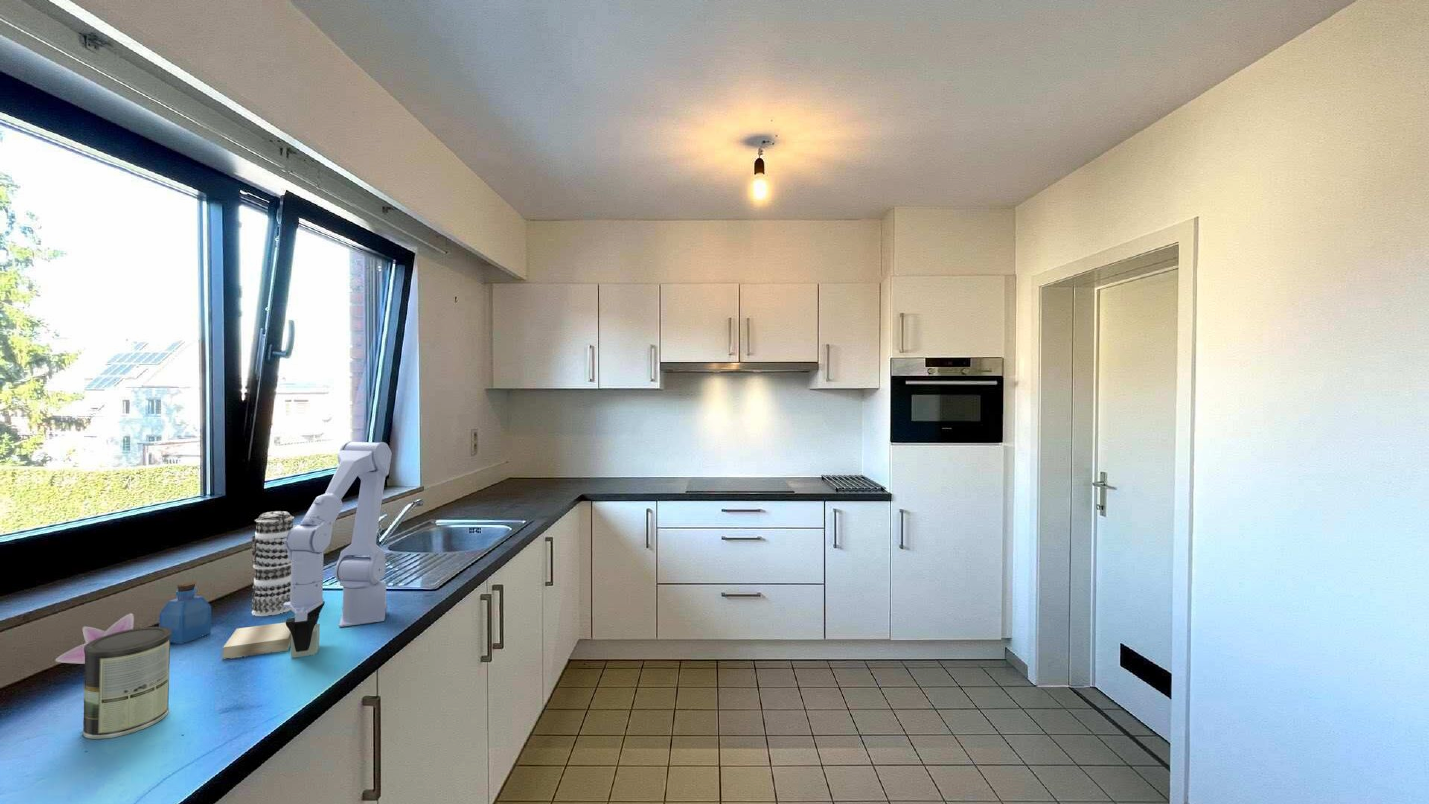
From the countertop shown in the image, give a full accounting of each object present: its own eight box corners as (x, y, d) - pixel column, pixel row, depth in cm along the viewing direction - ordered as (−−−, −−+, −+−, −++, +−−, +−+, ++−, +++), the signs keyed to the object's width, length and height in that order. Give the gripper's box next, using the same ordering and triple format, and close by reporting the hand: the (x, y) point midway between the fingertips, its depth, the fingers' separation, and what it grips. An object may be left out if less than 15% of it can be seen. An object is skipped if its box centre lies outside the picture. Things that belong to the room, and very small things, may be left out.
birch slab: (296, 633, 135) (296, 621, 135) (287, 652, 126) (287, 638, 126) (236, 641, 130) (236, 628, 130) (222, 661, 120) (222, 647, 120)
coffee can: (61, 740, 91) (64, 651, 91) (122, 706, 102) (124, 626, 102) (132, 739, 92) (134, 651, 92) (185, 705, 103) (187, 626, 103)
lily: (41, 692, 108) (51, 653, 106) (83, 644, 118) (92, 607, 116) (124, 699, 113) (134, 662, 111) (157, 652, 123) (167, 618, 121)
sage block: (319, 646, 128) (319, 623, 128) (316, 654, 124) (316, 631, 124) (294, 649, 126) (294, 626, 126) (290, 658, 122) (291, 634, 122)
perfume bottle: (180, 644, 127) (182, 589, 127) (158, 641, 129) (160, 587, 129) (210, 633, 133) (211, 581, 133) (189, 630, 135) (190, 579, 135)
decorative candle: (282, 616, 144) (284, 516, 144) (240, 617, 143) (243, 516, 143) (302, 603, 153) (304, 509, 153) (263, 604, 152) (266, 509, 152)
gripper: (290, 573, 130) (288, 634, 129) (277, 593, 117) (275, 660, 117) (328, 570, 133) (326, 629, 133) (319, 588, 120) (317, 654, 120)
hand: (305, 643), depth 125 cm, fingers open, 7 cm apart
